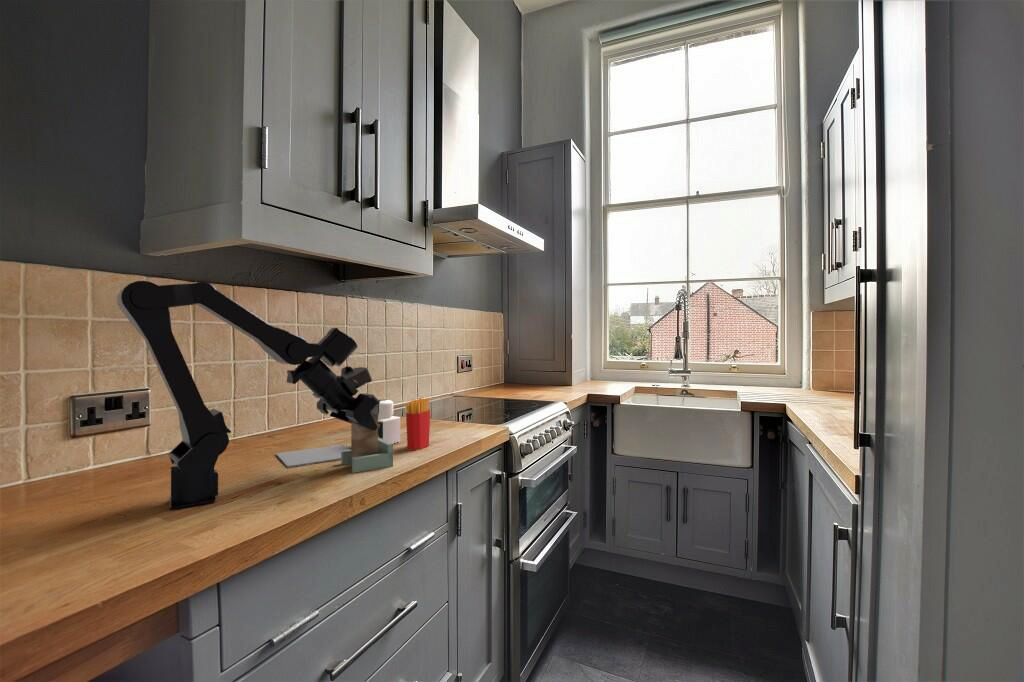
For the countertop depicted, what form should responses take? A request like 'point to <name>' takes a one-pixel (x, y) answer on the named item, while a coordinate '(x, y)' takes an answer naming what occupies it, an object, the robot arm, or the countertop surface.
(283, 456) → the mat
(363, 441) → the brown rectangular block
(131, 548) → the countertop surface
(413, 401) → the french fries
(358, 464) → the holder
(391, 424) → the medicine bottle
